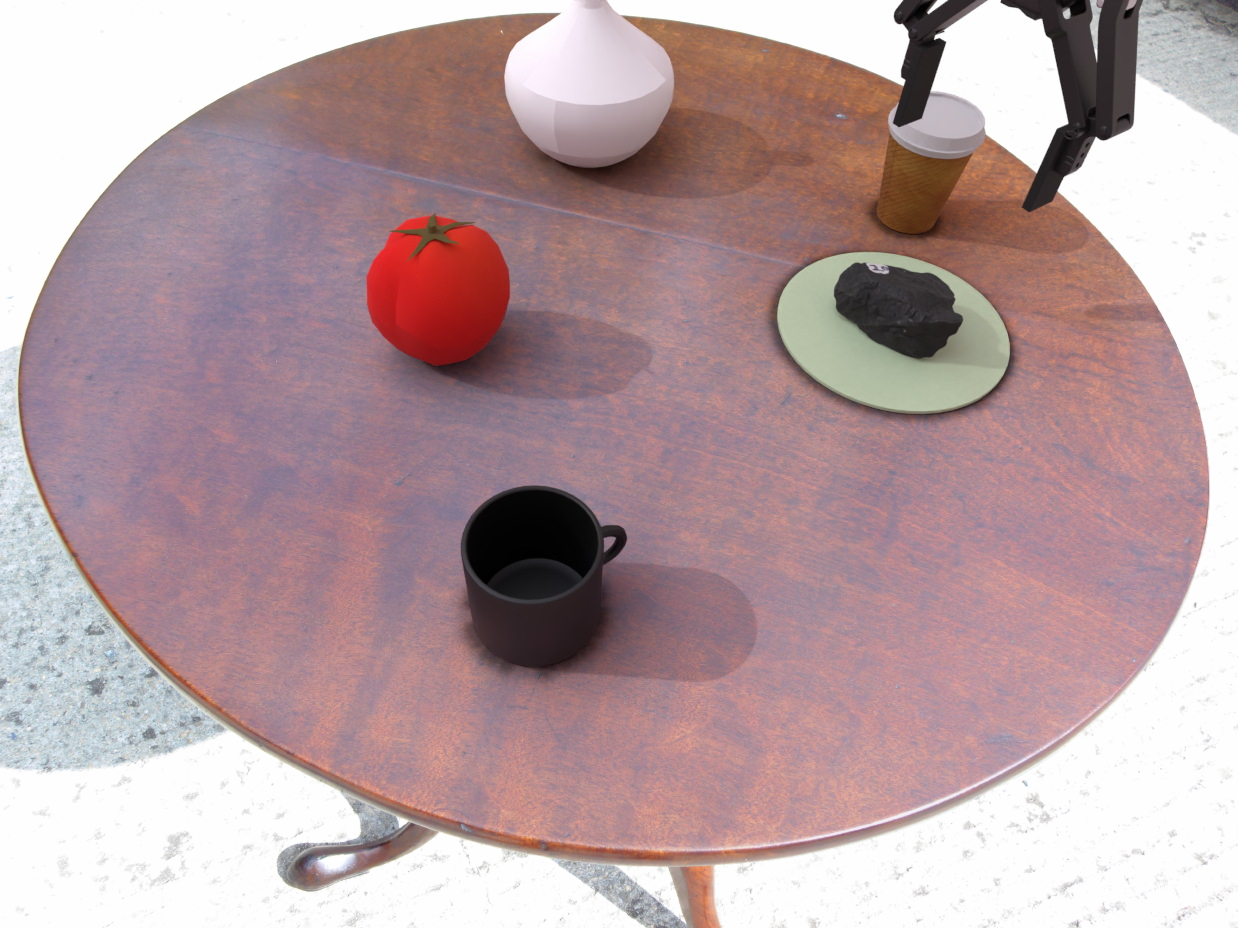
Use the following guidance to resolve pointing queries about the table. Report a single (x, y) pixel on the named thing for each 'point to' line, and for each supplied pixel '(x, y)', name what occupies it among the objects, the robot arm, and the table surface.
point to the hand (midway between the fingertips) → (968, 161)
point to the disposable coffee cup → (927, 161)
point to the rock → (898, 307)
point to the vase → (589, 86)
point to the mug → (536, 573)
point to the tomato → (438, 289)
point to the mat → (877, 370)
